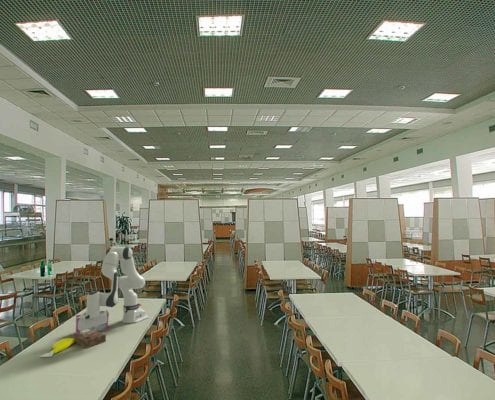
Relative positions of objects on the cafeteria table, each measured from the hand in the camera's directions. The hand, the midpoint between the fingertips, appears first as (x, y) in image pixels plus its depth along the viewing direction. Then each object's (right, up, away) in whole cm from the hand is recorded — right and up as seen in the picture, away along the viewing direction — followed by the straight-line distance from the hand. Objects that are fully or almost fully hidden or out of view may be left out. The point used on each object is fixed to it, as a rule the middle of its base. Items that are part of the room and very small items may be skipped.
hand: (92, 333), depth 221 cm
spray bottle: (-18, -7, -11) cm, 22 cm away
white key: (-8, -5, +6) cm, 11 cm away
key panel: (-4, -7, +3) cm, 9 cm away
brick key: (0, -4, 0) cm, 4 cm away
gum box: (-13, -9, +24) cm, 29 cm away
